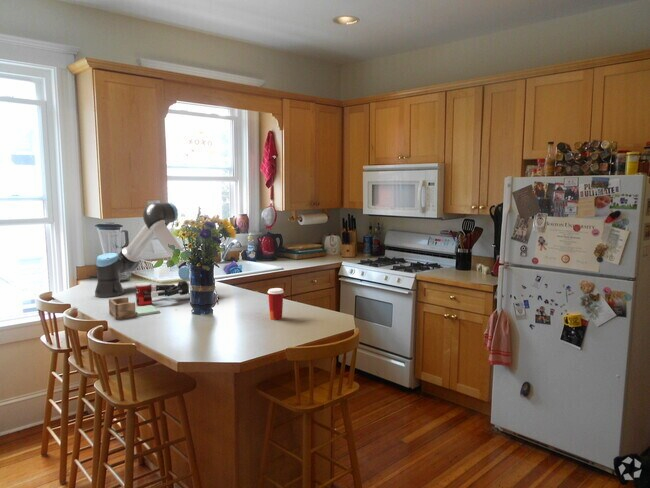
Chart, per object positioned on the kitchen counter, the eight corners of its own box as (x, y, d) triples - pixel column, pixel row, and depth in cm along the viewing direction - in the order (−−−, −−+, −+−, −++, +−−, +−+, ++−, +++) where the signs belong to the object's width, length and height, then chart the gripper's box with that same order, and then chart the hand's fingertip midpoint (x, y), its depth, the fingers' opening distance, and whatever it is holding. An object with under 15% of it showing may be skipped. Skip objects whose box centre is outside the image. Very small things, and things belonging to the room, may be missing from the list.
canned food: (138, 302, 267) (137, 282, 265) (153, 302, 267) (153, 282, 266) (134, 306, 259) (133, 285, 258) (150, 305, 260) (149, 285, 258)
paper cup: (286, 317, 238) (286, 288, 236) (280, 321, 231) (279, 291, 229) (271, 315, 241) (271, 287, 239) (264, 319, 233) (264, 290, 232)
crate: (151, 307, 257) (150, 293, 256) (159, 312, 246) (159, 299, 245) (109, 313, 246) (108, 299, 245) (116, 319, 234) (115, 305, 233)
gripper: (195, 298, 266) (154, 304, 253) (179, 290, 286) (141, 295, 274) (194, 284, 265) (154, 289, 252) (178, 277, 285) (140, 281, 273)
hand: (147, 292), depth 263 cm, fingers open, 13 cm apart
